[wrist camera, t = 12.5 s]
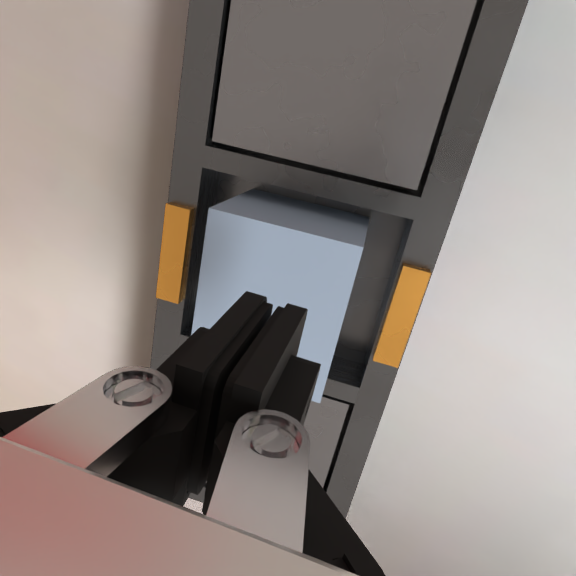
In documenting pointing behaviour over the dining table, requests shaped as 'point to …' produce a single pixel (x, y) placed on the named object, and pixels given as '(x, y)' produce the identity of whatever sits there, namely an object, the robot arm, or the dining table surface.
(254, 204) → the pale blue cube
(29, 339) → the dining table surface
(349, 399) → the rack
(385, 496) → the dining table surface
